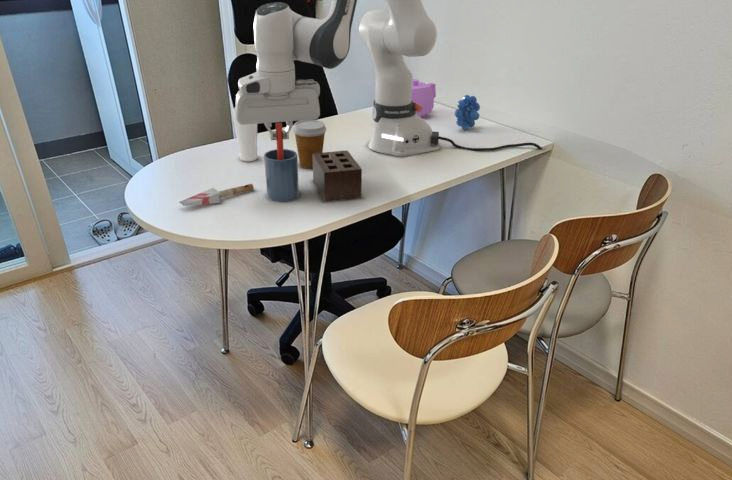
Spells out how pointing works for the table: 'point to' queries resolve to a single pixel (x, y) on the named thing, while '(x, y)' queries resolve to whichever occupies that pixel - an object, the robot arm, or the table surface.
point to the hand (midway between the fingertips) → (279, 139)
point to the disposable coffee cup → (309, 140)
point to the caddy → (337, 175)
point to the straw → (279, 141)
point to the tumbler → (281, 175)
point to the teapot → (423, 96)
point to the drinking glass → (246, 139)
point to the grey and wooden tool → (215, 195)
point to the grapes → (467, 112)
